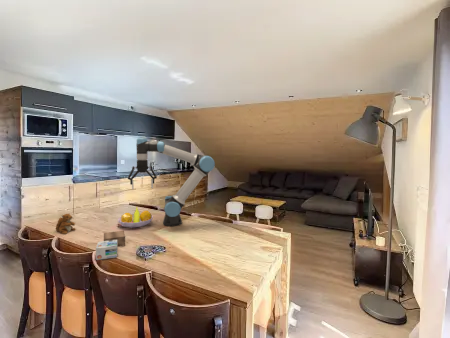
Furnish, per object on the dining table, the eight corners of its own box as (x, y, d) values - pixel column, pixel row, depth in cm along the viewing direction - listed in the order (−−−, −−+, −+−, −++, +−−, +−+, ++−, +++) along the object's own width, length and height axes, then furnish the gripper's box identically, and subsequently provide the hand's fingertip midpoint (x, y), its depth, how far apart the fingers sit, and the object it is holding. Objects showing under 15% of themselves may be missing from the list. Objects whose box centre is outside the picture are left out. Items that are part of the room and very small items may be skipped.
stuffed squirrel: (65, 234, 170) (65, 216, 169) (50, 232, 174) (49, 214, 173) (78, 230, 180) (77, 212, 179) (63, 228, 184) (62, 211, 183)
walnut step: (124, 239, 163) (123, 230, 163) (125, 245, 152) (125, 236, 152) (104, 241, 158) (103, 232, 157) (103, 248, 147) (103, 239, 147)
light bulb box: (117, 239, 145) (116, 245, 135) (117, 250, 146) (117, 257, 136) (97, 241, 141) (95, 248, 131) (97, 252, 142) (95, 260, 132)
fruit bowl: (147, 230, 181) (147, 215, 180) (111, 230, 181) (110, 215, 180) (158, 220, 209) (158, 207, 208) (127, 219, 209) (126, 206, 208)
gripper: (158, 159, 186) (158, 186, 187) (123, 159, 175) (123, 188, 176) (160, 159, 179) (160, 188, 181) (124, 160, 168) (124, 190, 170)
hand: (142, 188), depth 178 cm, fingers open, 13 cm apart
